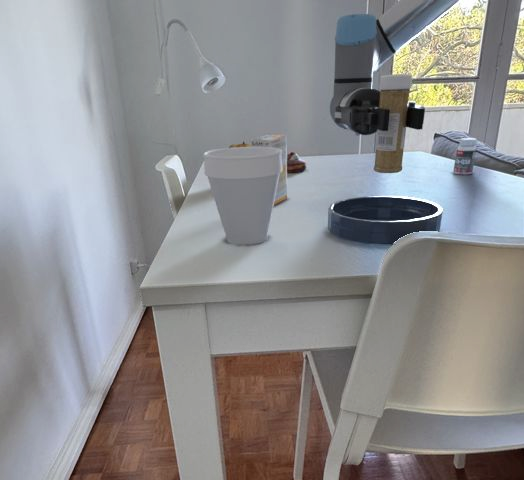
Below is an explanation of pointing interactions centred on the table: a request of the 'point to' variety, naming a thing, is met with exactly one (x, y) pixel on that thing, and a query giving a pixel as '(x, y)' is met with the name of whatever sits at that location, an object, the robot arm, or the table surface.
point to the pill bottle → (465, 156)
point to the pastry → (295, 163)
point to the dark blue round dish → (382, 218)
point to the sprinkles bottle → (393, 122)
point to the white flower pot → (244, 189)
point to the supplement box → (281, 143)
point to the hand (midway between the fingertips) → (403, 119)
